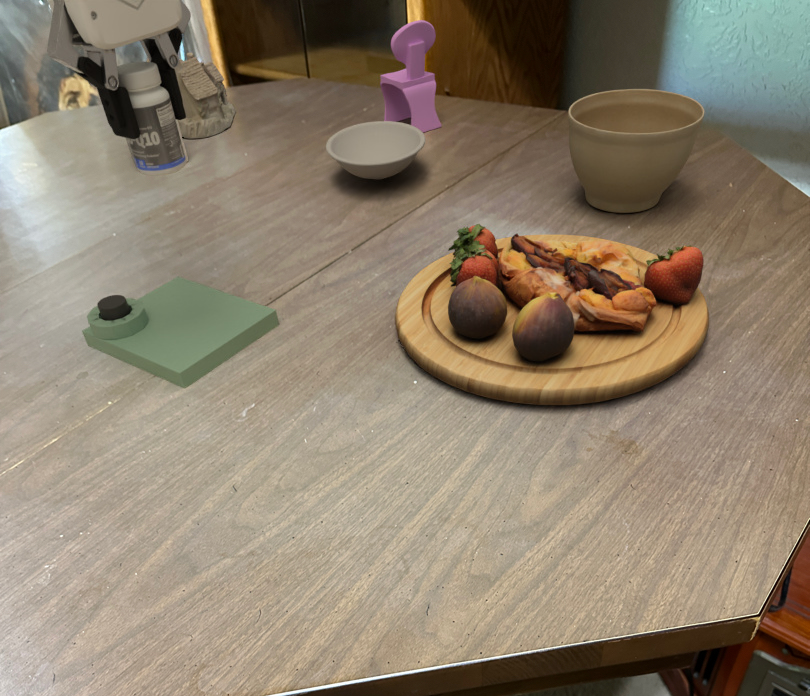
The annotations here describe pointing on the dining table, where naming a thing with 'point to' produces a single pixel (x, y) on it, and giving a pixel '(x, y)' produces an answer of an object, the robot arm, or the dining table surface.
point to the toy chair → (411, 78)
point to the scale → (181, 330)
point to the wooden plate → (553, 317)
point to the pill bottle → (152, 120)
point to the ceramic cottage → (202, 99)
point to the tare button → (113, 307)
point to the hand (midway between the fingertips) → (150, 124)
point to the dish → (376, 148)
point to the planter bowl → (631, 145)
